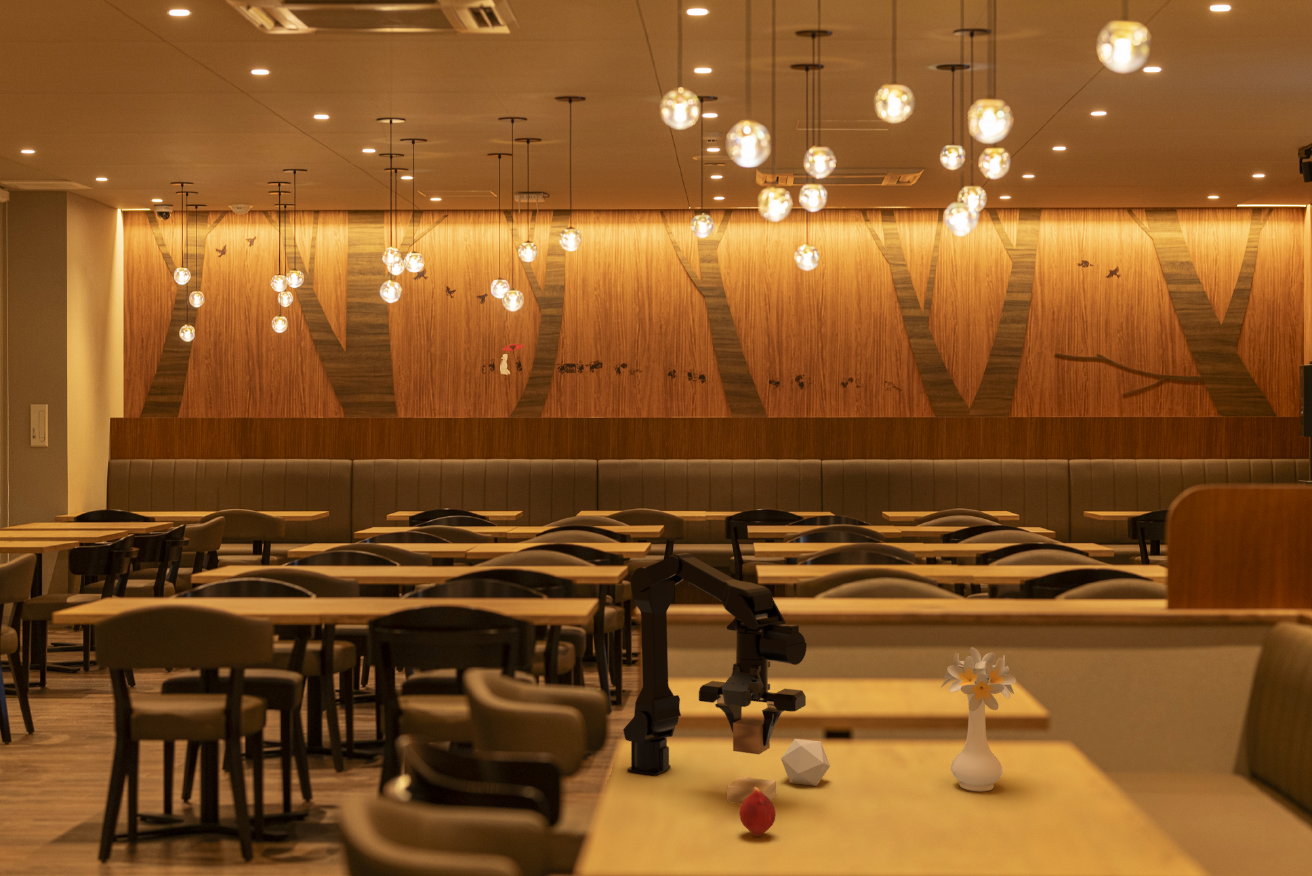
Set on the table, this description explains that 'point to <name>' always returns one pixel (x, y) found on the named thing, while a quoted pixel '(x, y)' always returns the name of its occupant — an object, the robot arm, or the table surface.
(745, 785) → the maple base
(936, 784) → the table surface
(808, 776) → the die
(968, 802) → the table surface
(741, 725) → the walnut cube
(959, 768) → the flower vase
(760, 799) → the onion
